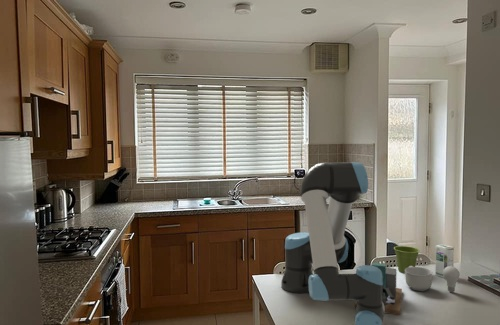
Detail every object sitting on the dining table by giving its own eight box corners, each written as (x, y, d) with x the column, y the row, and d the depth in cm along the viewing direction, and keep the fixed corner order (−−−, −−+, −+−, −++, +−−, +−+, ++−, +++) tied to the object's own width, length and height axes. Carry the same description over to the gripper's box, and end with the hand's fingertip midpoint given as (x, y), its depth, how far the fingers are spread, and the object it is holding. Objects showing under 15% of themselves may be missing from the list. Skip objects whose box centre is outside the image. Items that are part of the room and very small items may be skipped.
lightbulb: (458, 290, 152) (458, 265, 152) (460, 296, 147) (460, 269, 146) (442, 288, 155) (442, 263, 154) (443, 293, 149) (443, 267, 149)
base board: (354, 307, 137) (354, 303, 137) (362, 286, 158) (362, 283, 158) (400, 314, 130) (400, 310, 130) (401, 292, 151) (401, 288, 151)
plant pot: (417, 277, 169) (417, 253, 169) (391, 272, 176) (391, 250, 175) (421, 270, 179) (421, 247, 179) (396, 266, 185) (396, 244, 185)
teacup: (435, 294, 149) (435, 275, 149) (407, 292, 151) (407, 273, 151) (425, 282, 163) (426, 264, 162) (400, 280, 165) (400, 263, 165)
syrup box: (434, 275, 172) (434, 245, 171) (443, 273, 174) (443, 243, 174) (445, 278, 166) (445, 248, 166) (454, 277, 169) (454, 246, 168)
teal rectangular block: (371, 294, 141) (371, 264, 141) (375, 283, 154) (375, 255, 154) (385, 296, 139) (385, 266, 139) (387, 284, 152) (387, 256, 152)
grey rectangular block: (363, 293, 146) (363, 270, 146) (366, 287, 153) (366, 265, 153) (395, 298, 141) (395, 274, 141) (396, 291, 148) (396, 268, 148)
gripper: (352, 313, 121) (362, 289, 143) (394, 321, 116) (397, 294, 137) (352, 291, 121) (362, 271, 142) (394, 298, 115) (397, 275, 137)
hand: (379, 282), depth 140 cm, fingers closed
